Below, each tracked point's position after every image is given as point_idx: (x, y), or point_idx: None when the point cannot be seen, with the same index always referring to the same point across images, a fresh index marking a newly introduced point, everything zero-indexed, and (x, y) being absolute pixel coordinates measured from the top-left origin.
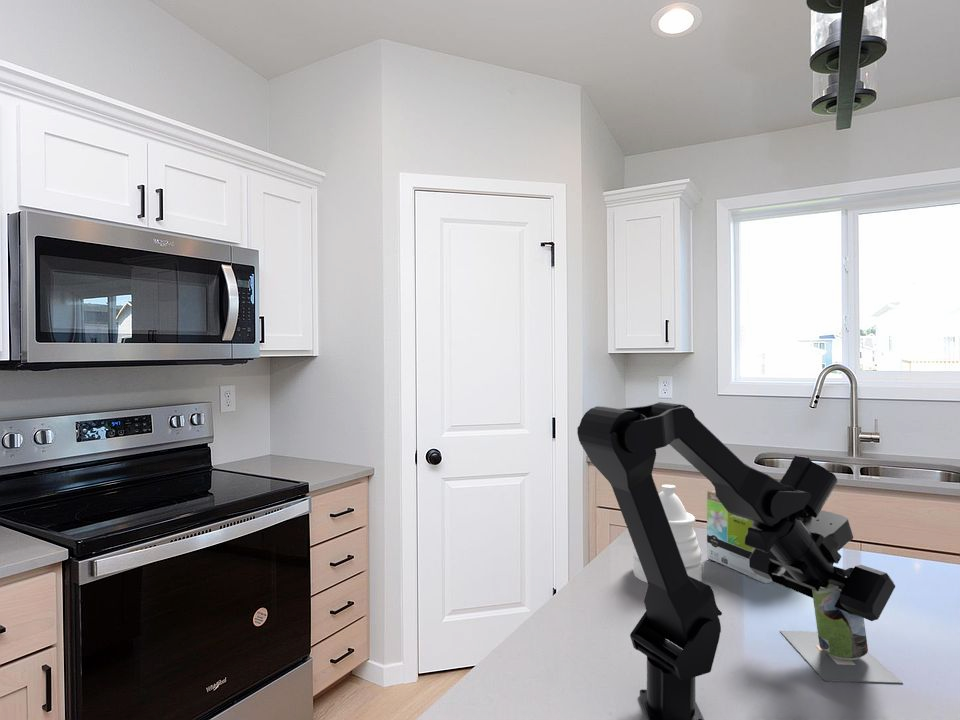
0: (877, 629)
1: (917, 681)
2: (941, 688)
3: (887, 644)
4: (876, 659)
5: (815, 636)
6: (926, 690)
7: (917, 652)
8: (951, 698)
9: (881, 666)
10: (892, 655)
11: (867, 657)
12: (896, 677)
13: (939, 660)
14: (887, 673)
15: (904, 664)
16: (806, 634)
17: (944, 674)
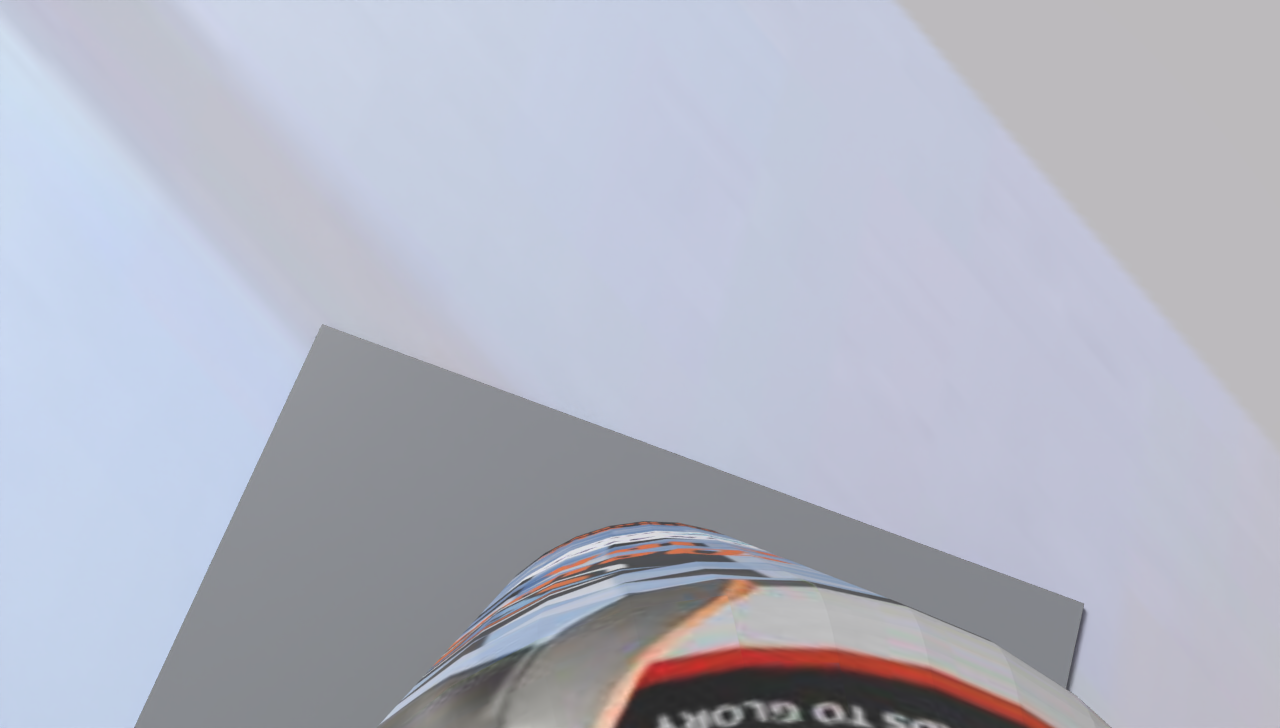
0: (358, 23)
1: (1064, 464)
2: (1163, 390)
3: (577, 173)
4: (764, 489)
5: (275, 664)
6: (1171, 515)
7: (735, 83)
8: (1273, 446)
9: (863, 551)
10: (724, 293)
11: (718, 530)
12: (1014, 582)
13: (861, 52)
14: (953, 596)
15: (853, 332)
16: (212, 723)
17: (1019, 198)
